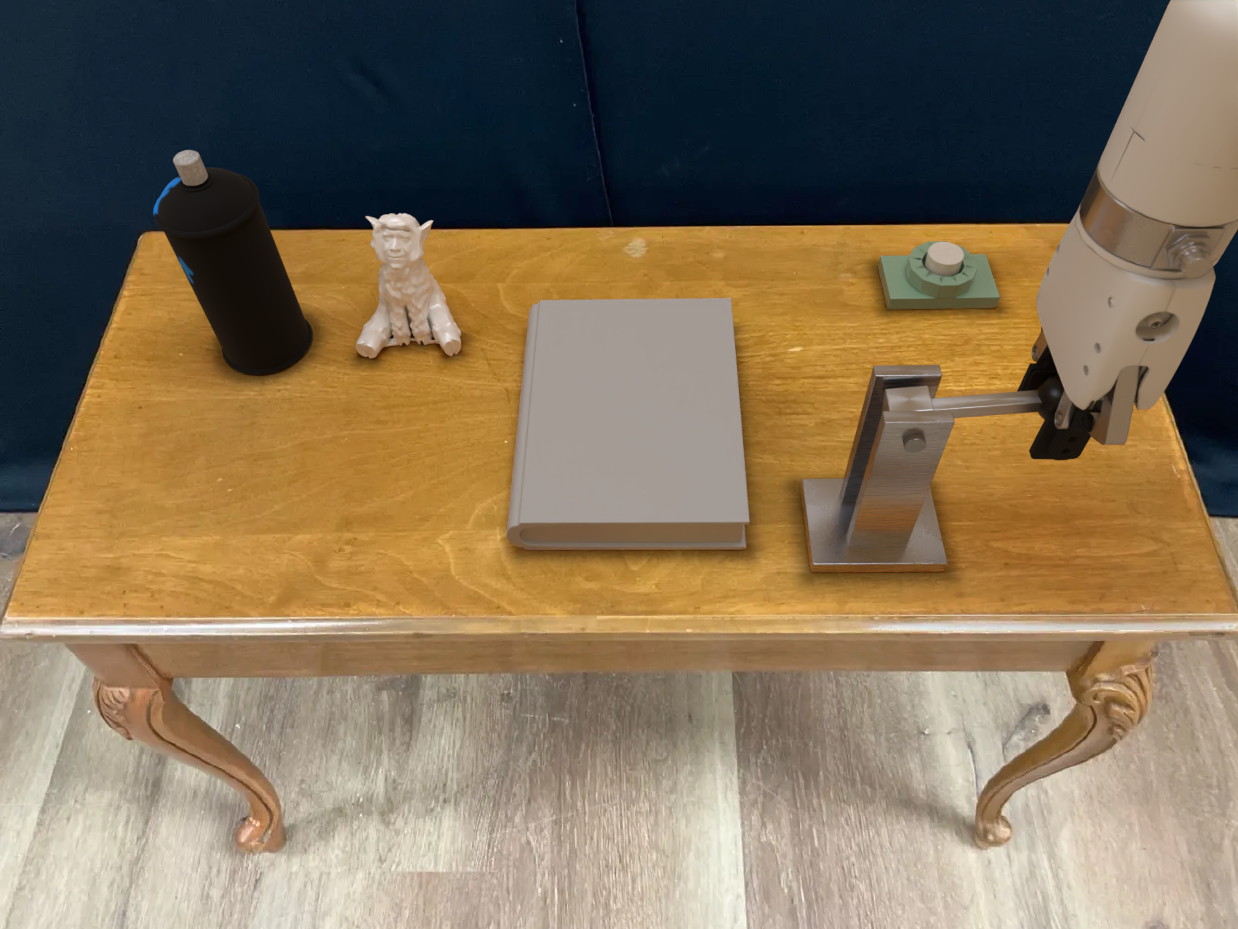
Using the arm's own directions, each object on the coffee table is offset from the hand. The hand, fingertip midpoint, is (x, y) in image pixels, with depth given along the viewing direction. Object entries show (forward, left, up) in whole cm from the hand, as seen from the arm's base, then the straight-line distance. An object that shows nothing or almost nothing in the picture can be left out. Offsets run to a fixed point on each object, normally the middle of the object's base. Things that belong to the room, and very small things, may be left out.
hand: (1044, 428), depth 66 cm
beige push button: (+8, -26, -9) cm, 29 cm away
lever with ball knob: (+4, +1, +1) cm, 4 cm away
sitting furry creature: (+53, -7, -12) cm, 55 cm away
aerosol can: (+65, -1, -12) cm, 66 cm away
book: (+30, -1, -12) cm, 33 cm away
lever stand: (+9, +3, -12) cm, 15 cm away
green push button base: (+8, -26, -12) cm, 30 cm away
